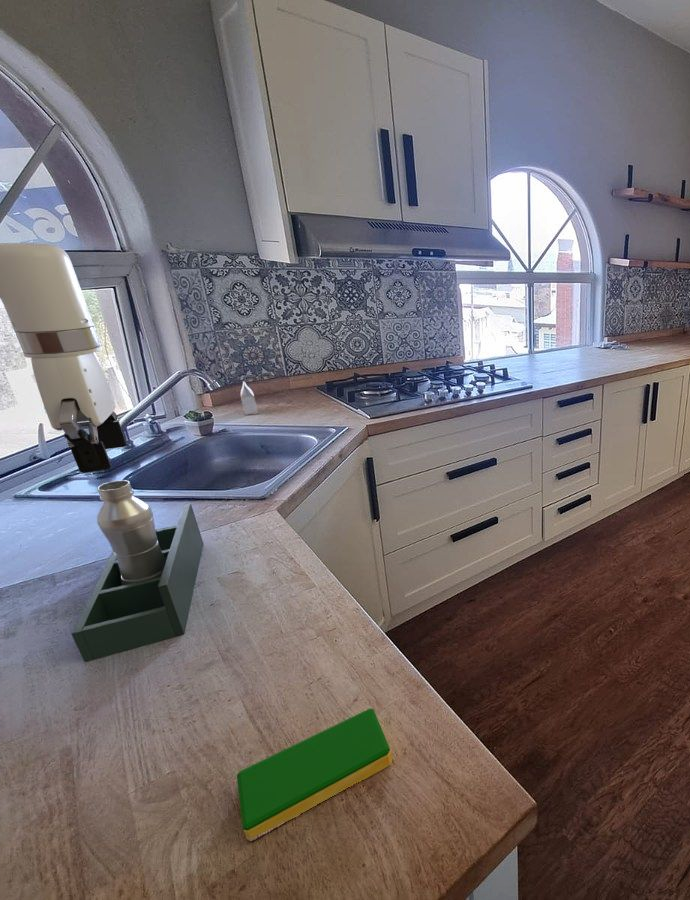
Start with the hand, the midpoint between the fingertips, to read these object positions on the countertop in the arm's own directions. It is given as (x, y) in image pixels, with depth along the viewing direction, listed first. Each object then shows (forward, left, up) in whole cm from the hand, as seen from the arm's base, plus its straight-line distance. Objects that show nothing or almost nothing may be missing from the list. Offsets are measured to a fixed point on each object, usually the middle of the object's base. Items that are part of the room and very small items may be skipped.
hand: (105, 458), depth 74 cm
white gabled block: (+11, +105, -25) cm, 109 cm away
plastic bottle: (0, 0, -25) cm, 25 cm away
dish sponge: (+21, -48, -25) cm, 58 cm away
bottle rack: (0, 0, -24) cm, 24 cm away
